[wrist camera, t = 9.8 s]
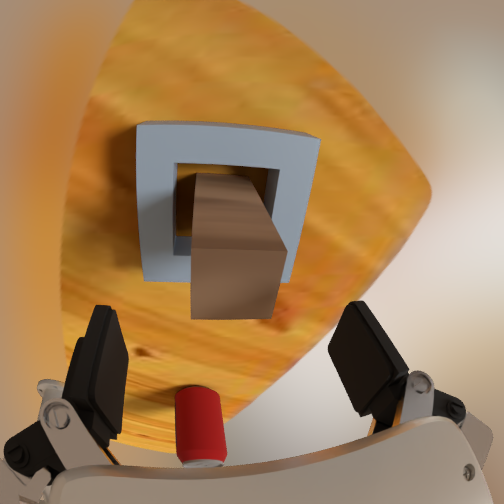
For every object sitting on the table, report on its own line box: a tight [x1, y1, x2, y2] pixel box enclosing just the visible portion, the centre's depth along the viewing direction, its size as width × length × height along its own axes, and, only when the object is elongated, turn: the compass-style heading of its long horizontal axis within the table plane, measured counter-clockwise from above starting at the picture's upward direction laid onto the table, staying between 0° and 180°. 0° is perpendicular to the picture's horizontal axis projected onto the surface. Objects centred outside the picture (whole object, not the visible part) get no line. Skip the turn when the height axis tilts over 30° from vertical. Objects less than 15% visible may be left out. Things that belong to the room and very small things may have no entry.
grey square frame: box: [136, 121, 321, 283], centre depth 20 cm, size 12×12×3 cm
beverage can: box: [175, 386, 227, 468], centre depth 31 cm, size 7×7×12 cm
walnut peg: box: [191, 173, 288, 320], centre depth 17 cm, size 4×4×11 cm
